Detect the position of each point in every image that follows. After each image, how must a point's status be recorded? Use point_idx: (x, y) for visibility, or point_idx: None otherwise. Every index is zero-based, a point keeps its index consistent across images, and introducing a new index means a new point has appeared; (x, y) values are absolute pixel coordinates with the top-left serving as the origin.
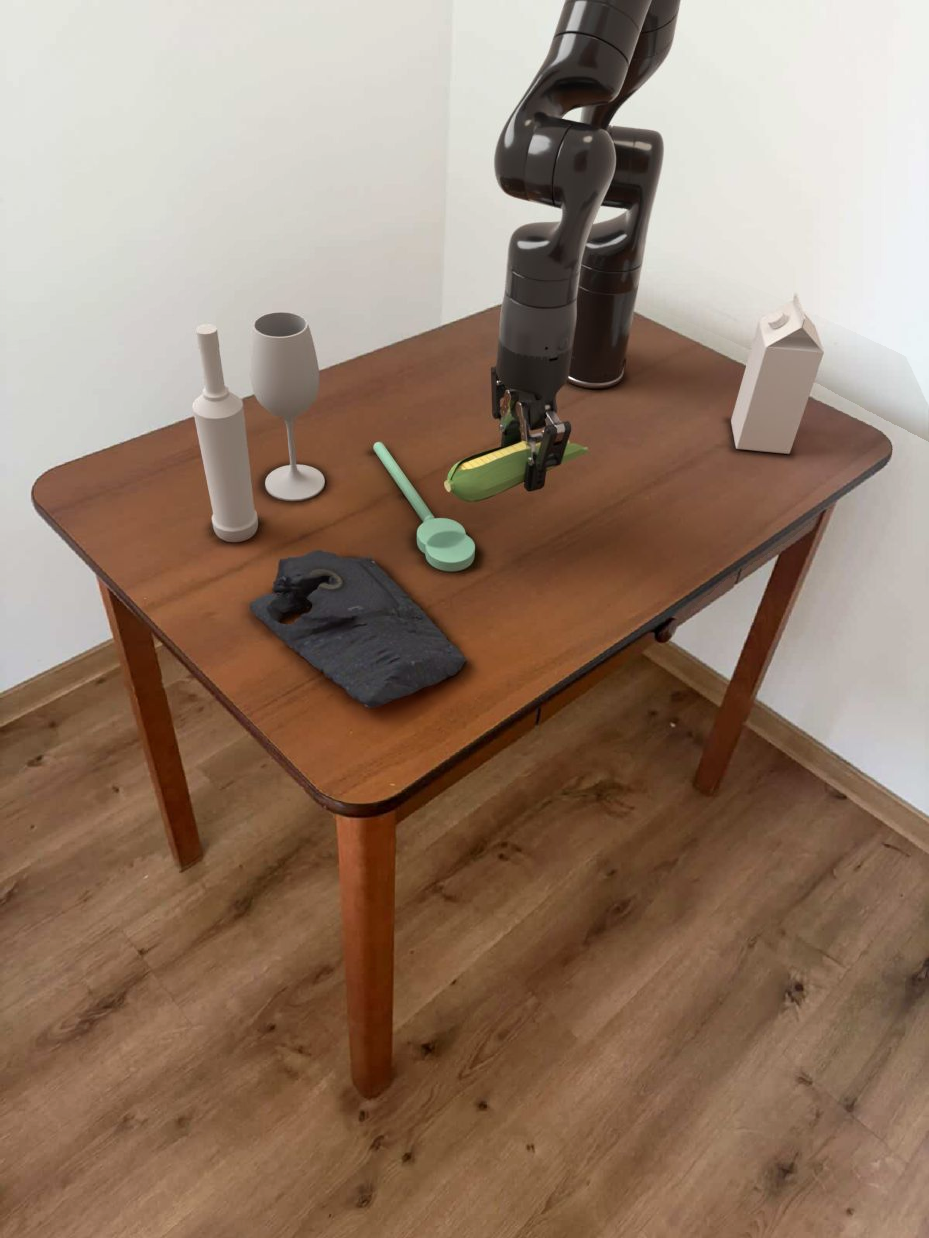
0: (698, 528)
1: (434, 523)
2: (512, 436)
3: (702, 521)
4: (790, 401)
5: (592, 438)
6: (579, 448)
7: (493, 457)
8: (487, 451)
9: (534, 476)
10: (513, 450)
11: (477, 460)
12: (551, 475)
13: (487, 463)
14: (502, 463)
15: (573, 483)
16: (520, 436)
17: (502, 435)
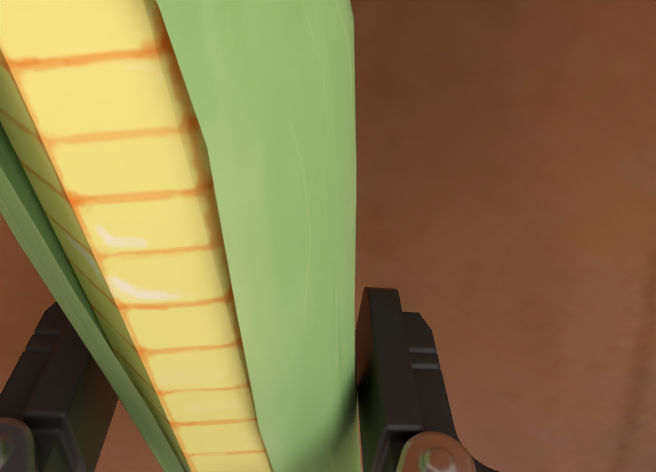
0: (120, 451)
1: None
2: (373, 444)
3: (139, 463)
4: None
5: (491, 442)
6: None
7: (157, 287)
8: (330, 281)
9: (15, 368)
10: (198, 411)
11: (147, 158)
12: (436, 331)
13: (23, 210)
14: (70, 303)
15: None
16: (363, 461)
17: (413, 415)
